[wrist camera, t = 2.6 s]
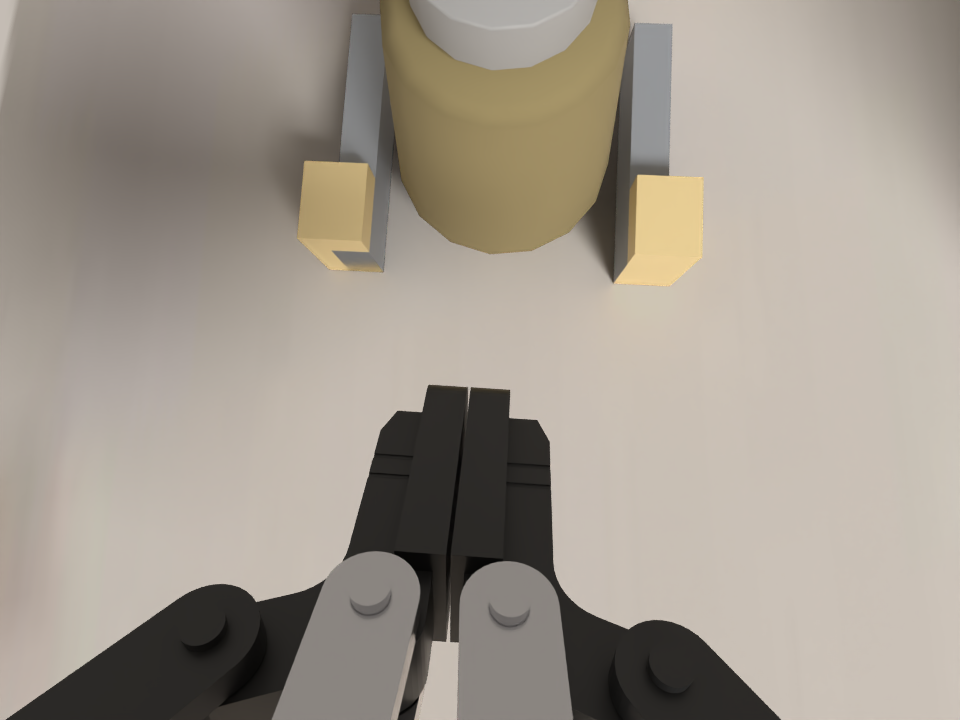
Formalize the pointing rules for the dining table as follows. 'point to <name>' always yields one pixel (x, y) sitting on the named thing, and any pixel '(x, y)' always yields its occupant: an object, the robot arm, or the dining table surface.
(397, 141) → the squeeze bottle
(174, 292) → the dining table surface
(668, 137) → the wooden post frame
